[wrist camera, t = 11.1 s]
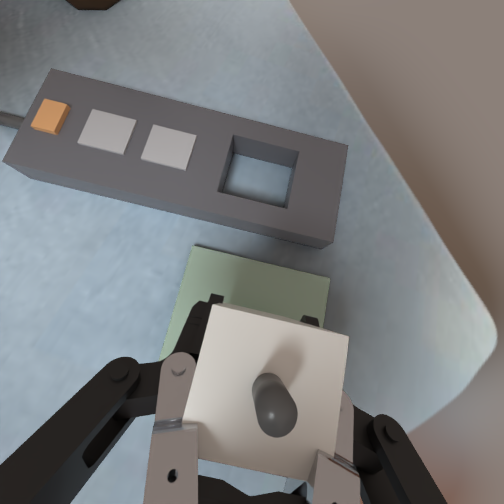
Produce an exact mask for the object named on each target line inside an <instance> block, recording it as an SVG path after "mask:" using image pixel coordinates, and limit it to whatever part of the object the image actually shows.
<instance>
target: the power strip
mask: <svg viewBox="0 0 504 504" xmlns="http://www.w3.org/2000/svg"><path fill="white" fill-rule="evenodd" d="M0 125H4V126H8V127H12V128H16V129H19V130H18V132H17V134H16V136H15V138H14V140H13V142H12V143H11V145H10V147H9V149H8V151H7V153H6V155H5V157H4V159H3V161H2V162H4V163H6V164H7V165H9V166H11V167H12V168H14V169H16V170H17V171H19V172H21V173H22V174H24V175H26V176H27V177H29V178H31V179H35V180H39V181H43V182H48V183H52V184H56V185H60V186H64V187H68V188H72V189H76V190H80V191H85V192H89V193H93V194H97V195H101V196H105V197H109V198H113V199H117V200H122V201H126V202H130V203H134V204H138V205H142V206H146V207H150V208H154V209H159V210H163V211H167V212H171V213H175V214H179V215H183V216H187V217H191V218H196V219H200V220H204V221H208V222H212V223H216V224H220V225H224V226H229V227H233V228H237V229H241V230H245V231H249V232H253V233H257V234H261V235H266V236H270V237H274V238H278V239H282V240H286V241H290V242H294V243H298V244H303V245H307V246H311V247H315V248H319V249H323V248H324V247H326V246H328V245H329V244H331V243H333V241H334V235H335V228H336V222H337V215H338V209H339V202H340V196H341V189H342V183H343V176H344V170H345V163H346V157H347V150H348V145H345V144H341V143H337V142H333V141H329V140H326V139H322V138H318V137H314V136H310V135H306V134H302V133H299V132H295V131H291V130H287V129H283V128H279V127H275V126H272V125H268V124H264V123H260V122H256V121H252V120H248V119H245V118H241V117H237V116H233V115H229V114H225V113H221V112H217V111H214V110H210V109H206V108H202V107H198V106H194V105H190V104H187V103H183V102H179V101H175V100H171V99H167V98H163V97H160V96H156V95H152V94H148V93H144V92H140V91H136V90H133V89H129V88H125V87H121V86H117V85H113V84H109V83H106V82H102V81H98V80H94V79H90V78H86V77H82V76H79V75H75V74H71V73H67V72H63V71H59V70H55V69H52V68H51V70H50V71H49V73H48V75H47V77H46V79H45V81H44V83H43V85H42V87H41V88H40V90H39V92H38V94H37V96H36V98H35V100H34V102H33V104H32V106H31V107H30V109H29V111H28V113H27V115H26V117H25V118H21V117H17V116H13V115H9V114H5V113H1V112H0ZM233 153H236V154H240V155H243V156H247V157H251V158H255V159H259V160H263V161H267V162H271V163H275V164H279V165H283V166H287V167H291V168H292V170H291V175H290V180H289V185H288V189H287V194H286V199H285V204H284V208H281V207H277V206H273V205H269V204H265V203H261V202H257V201H253V200H249V199H245V198H241V197H237V196H233V195H228V194H224V193H222V191H223V187H224V183H225V180H226V176H227V173H228V169H229V165H230V162H231V158H232V155H233Z"/></svg>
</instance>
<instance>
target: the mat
mask: <svg viewBox="0 0 504 504" xmlns="http://www.w3.org/2000/svg"><path fill="white" fill-rule="evenodd" d="M329 284H330V278H327V277H323V276H318V275H314V274H310V273H306V272H302V271H297V270H293V269H289V268H285V267H281V266H277V265H272V264H268V263H264V262H260V261H256V260H251V259H247V258H243V257H239V256H235V255H231V254H226V253H222V252H218V251H214V250H210V249H205V248H201V247H197V246H193V245H192V249H191V252H190V255H189V259H188V262H187V266H186V269H185V272H184V276H183V279H182V283H181V286H180V289H179V293H178V296H177V300H176V303H175V307H174V310H173V313H172V317H171V320H170V324H169V327H168V330H167V334H166V337H165V341H164V344H163V347H162V351H161V354H160V358H159V361H161V360H163V359H165V358H166V357H168V356H169V355H170V354H171V353H172V351H173V350H174V348H175V345H176V343H177V341H178V338H179V336H180V334H181V331H182V329H183V327H184V325H185V323H186V320H187V318H188V316H189V313H190V311H191V309H192V307H193V306H194V305H195V304H196V303H197V302H198V301H204V302H208V300H209V298H210V295H211V293H213V294H218V295H222V296H224V301H223V302H225V303H229V304H233V305H237V306H242V307H246V308H250V309H254V310H259V311H263V312H267V313H271V314H276V315H280V316H284V317H287V318H291V319H294V320H297V321H300V320H301V318H302V316H303V315H307V316H311V317H315V318H318V321H319V326H320V328H323V324H324V317H325V311H326V304H327V298H328V291H329Z"/></svg>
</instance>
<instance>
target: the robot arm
mask: <svg viewBox="0 0 504 504" xmlns="http://www.w3.org/2000/svg"><path fill="white" fill-rule="evenodd" d="M223 301H224V296H222V295H218V294H213V293H211V295H210V298H209V300H208V302H204V301H198V302H197V303H196V304H195V305H194V306H193V307H192V309H191V311H190V313H189V316H188V318H187V320H186V323H185V325H184V327H183V329H182V331H181V334H180V336H179V338H178V341H177V343H176V345H175V348H174V350H173V351H172V353H171V354H170V355H169V356H168V357H166V358H165V359H163V360H161V361H158V362H153V363H144V364H138V362H137V361H136V360H135V359H133V358H131V357H120V358H117V359H114V360H112V361H111V362H109V363H108V364H107V365H106V366H105V367H104V368H103V369H101V370H100V371H99V372H98V373H97V374H96V375H95V376H94V377H93V378H92V379H91V380H90V381H89V382H88V383H87V384H86V385H85V386H83V387H82V388H81V389H80V390H79V391H78V392H77V393H76V394H75V395H74V396H73V397H72V398H71V399H70V400H69V401H68V402H67V403H66V404H64V405H63V406H62V407H61V408H60V409H59V410H58V411H57V412H56V413H55V414H54V415H53V416H52V417H51V418H50V419H49V420H48V421H46V422H45V423H44V424H43V425H42V426H41V427H40V428H39V429H38V430H37V431H36V432H35V433H34V434H33V435H32V436H31V437H30V438H28V439H27V440H26V441H25V442H24V443H23V444H22V445H21V446H20V447H19V448H18V449H17V450H16V451H15V452H14V453H13V454H12V455H11V456H9V457H8V458H7V459H6V460H5V461H4V462H3V463H2V464H1V465H0V504H70V503H71V502H72V500H73V499H74V498H75V496H76V495H77V494H78V492H79V491H80V490H81V489H82V487H83V486H84V485H85V483H86V482H87V481H88V479H89V478H90V477H91V475H92V474H93V473H94V472H95V470H96V469H97V468H98V466H99V465H100V464H101V462H102V461H103V460H104V458H105V457H106V456H107V454H108V453H109V452H110V451H111V449H112V448H113V447H114V445H115V444H116V443H117V441H118V440H119V439H120V437H121V436H122V435H123V434H124V432H125V431H126V430H127V428H128V427H129V426H130V424H131V423H132V422H133V420H134V419H135V418H136V417H139V416H145V415H151V414H155V422H154V426H153V431H152V437H151V445H150V453H149V461H148V469H147V477H146V485H145V493H144V501H143V504H360V496H361V499H362V501H363V504H447V502H446V500H445V499H444V497H443V495H442V494H441V492H440V490H439V489H438V487H437V485H436V484H435V482H434V480H433V478H432V477H431V475H430V473H429V472H428V470H427V468H426V467H425V465H424V463H423V462H422V460H421V458H420V457H419V455H418V454H417V452H416V450H415V448H414V447H413V445H412V443H411V442H410V440H409V438H408V437H407V435H406V433H405V431H404V430H403V428H402V427H401V426H400V425H399V424H398V423H397V422H396V421H395V420H394V419H393V418H391V417H389V416H387V415H384V414H380V415H377V416H376V417H375V418H374V417H372V416H371V415H369V414H367V413H366V412H364V411H362V410H360V409H359V408H357V407H356V406H354V405H353V404H352V402H351V400H350V398H349V396H348V395H347V394H346V393H345V392H344V391H343V390H342V397H341V405H340V413H339V421H338V429H337V437H336V445H335V452H334V456H332V455H330V454H328V453H326V452H324V451H321V450H319V449H318V450H317V453H316V456H315V459H314V462H313V465H312V468H311V471H310V474H309V477H308V480H307V481H302V480H298V479H293V478H288V477H287V479H286V482H285V486H284V490H283V492H273V493H268V494H262V495H256V496H248V495H246V494H244V493H243V492H241V491H240V490H238V489H236V488H235V487H233V486H231V485H230V484H228V483H227V482H225V481H223V480H220V479H216V478H211V477H206V476H201V475H198V427H197V423H182V419H183V415H184V412H185V408H186V404H187V400H188V396H189V393H190V389H191V385H192V381H193V377H194V373H195V370H196V366H197V362H198V358H199V354H200V350H201V347H202V343H203V339H204V335H205V331H206V327H207V324H208V320H209V316H210V312H211V308H212V304H218V303H221V304H223ZM300 322H303V323H306V324H310V325H313V326H317V327H320V326H319V321H318V318H315V317H311V316H307V315H303V316H302V318H301V320H300Z"/></svg>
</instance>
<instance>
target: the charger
mask: <svg viewBox="0 0 504 504" xmlns="http://www.w3.org/2000/svg"><path fill="white" fill-rule="evenodd" d="M348 342H349V336H346V335H343V334H339V333H336V332H333V331H330V330H326V329H323V328H320V327H317V326H313V325H310V324H306V323H303V322H300V321H297V320H294V319H291V318H287V317H284V316H280V315H276V314H271V313H267V312H263V311H259V310H254V309H250V308H246V307H242V306H237V305H233V304H229V303H225V302H223V304H221V303H218V304H212V308H211V312H210V316H209V320H208V324H207V327H206V331H205V335H204V339H203V343H202V347H201V350H200V354H199V358H198V362H197V366H196V370H195V373H194V377H193V381H192V385H191V389H190V393H189V396H188V400H187V404H186V408H185V412H184V415H183V419H182V423H197V427H198V459H203V460H208V461H213V462H217V463H222V464H227V465H231V466H236V467H241V468H246V469H250V470H255V471H260V472H265V473H269V474H274V475H279V476H283V477H288V478H293V479H298V480H302V481H307V480H308V477H309V474H310V471H311V468H312V465H313V462H314V459H315V456H316V453H317V450H318V449H319V450H321V451H324V452H326V453H328V454H330V455H332V456H334V452H335V445H336V437H337V429H338V421H339V413H340V405H341V397H342V389H343V382H344V374H345V366H346V358H347V350H348Z"/></svg>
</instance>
